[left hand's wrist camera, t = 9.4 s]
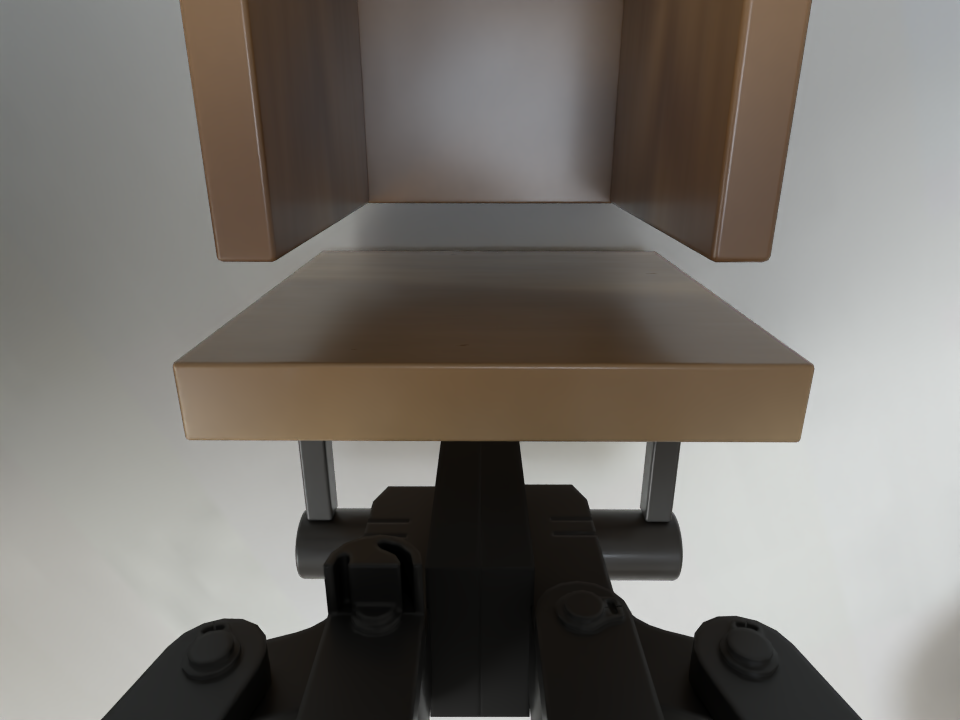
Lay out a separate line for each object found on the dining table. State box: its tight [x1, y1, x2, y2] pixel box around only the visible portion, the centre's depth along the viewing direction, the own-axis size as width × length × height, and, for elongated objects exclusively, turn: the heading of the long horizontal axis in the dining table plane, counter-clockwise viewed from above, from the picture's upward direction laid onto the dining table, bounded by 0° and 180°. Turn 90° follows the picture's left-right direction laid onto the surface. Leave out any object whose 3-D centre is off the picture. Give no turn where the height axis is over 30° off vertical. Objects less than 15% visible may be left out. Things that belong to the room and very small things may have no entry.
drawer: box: [173, 0, 814, 581], centre depth 11 cm, size 22×9×8 cm, turn 0°
